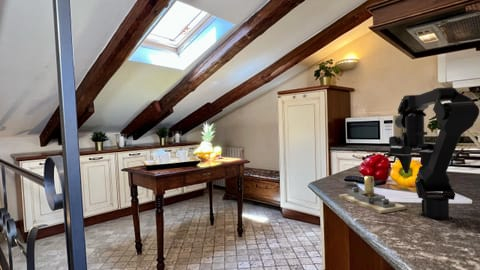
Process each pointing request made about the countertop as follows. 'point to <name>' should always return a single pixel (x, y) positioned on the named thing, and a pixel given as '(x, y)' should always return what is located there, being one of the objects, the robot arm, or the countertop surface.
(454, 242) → the countertop surface
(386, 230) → the countertop surface
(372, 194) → the brass pin
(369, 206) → the wooden board
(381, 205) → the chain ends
